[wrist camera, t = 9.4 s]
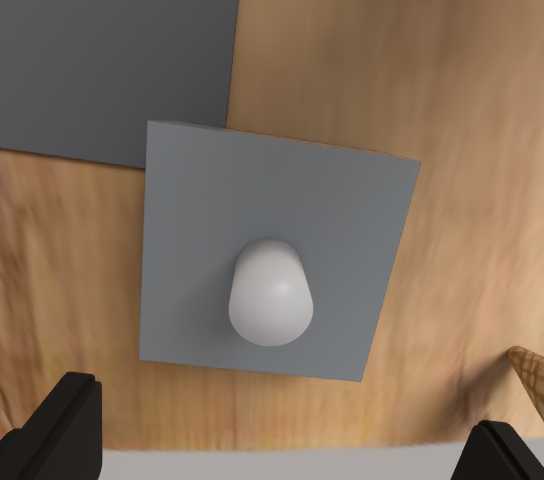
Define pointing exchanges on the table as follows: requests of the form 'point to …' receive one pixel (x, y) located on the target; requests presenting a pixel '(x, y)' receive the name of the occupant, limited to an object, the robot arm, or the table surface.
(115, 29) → the rubber mat
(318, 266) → the lid
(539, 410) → the ice cream cone
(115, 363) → the table surface
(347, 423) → the table surface
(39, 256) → the table surface
